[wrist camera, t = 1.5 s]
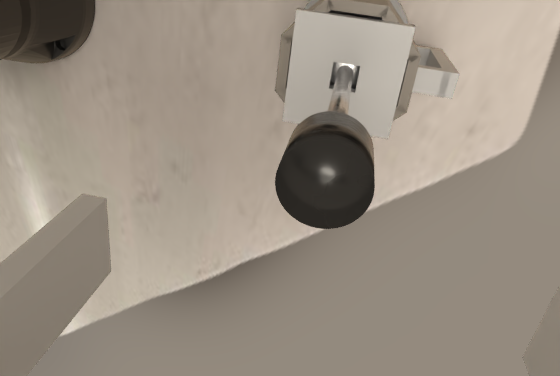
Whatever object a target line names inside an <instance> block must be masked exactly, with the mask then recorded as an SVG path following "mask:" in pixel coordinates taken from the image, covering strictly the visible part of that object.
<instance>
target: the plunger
mask: <svg viewBox="0 0 560 376" xmlns="http://www.w3.org/2000/svg"><path fill="white" fill-rule="evenodd" d="M359 69H360V66H357V65H350V64H344V63H337V62H334V63H333V69H332V75H331V81H330V85H333V86H334V88H333V92H332V96H331V100H330V104H329V108H328V111H326V112H320V113H316V114H313V115H311V116H309V117H307V118H306V119H304V120H303V121H302V122H301V123H300V124H299V125H298V126H297V127H296V128H295V130H294V131H293V133H292V135H291V138H290V140H289V143H288V145H287V147H286V150H285V152H284V155H283V157H282V160H281V162H280V164H279V167H278V170H277V173H276V178H275V186H276V192H277V196H278V198H279V201H280V202H281V204H282V206H283V207H284V209H285V210H286V211H287V212H288V213H289V214H290V215H291V216H292V217H293V218H295V219H296V220H298V221H299V222H301V223H303V224H306V225H308V226H311V227H315V228H322V229H331V228H338V227H342V226H345V225H348V224H350V223H352V222H354V221H355V220H356V219H358V218H359V217H360V216H362V215H363V213H364V212H365V211H366V210H367V208H368V207H369V205H370V203H371V201H372V198H373V195H374V148H373V143H372V139H371V137H370V134H369V133H368V131H367V129H366V128H365V127H364V126H363V125H362V124H361V123H360V122H359V121H358V120H356V119H355V118H353V117H351V116H349V115H348V110H349V102H350V94H351V88H352V89H356V84H357V79H358V74H359Z"/></svg>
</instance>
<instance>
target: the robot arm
mask: <svg viewBox="0 0 560 376" xmlns="http://www.w3.org/2000/svg"><path fill="white" fill-rule="evenodd" d="M93 18H94V0H0V60H1V59H6V60H13V61H20V62H26V63H47V62H51V61H55V60H57V59H60V58H63V57H66V56H68V55H70V54H72V53H73V52H75V51H76V50H77V49H78V48H79V47H80V46H81V45H82V44H83V43H84V41H85V40H86V38H87V36H88V34H89V32H90V30H91V27H92V23H93ZM110 272H111V259H110V244H109V230H108V215H107V200H106V198H103V197H97V196H92V195H87V194H81V195H80V196H79V197H78V198H77V199H76V200H74V201H73V202H72V203H71V204H70V205H69V206H67V207H66V208H65V209H64V210H63V211H61V212H60V213H59V214H58V215H57V216H56V217H54V218H53V219H52V220H51V221H50V222H49V223H47V224H46V225H45V226H44V227H43V228H41V229H40V230H39V231H38V232H37V233H36V234H34V235H33V236H32V237H31V238H30V239H29V240H27V241H26V242H25V243H24V244H23V245H22V246H20V247H19V248H18V249H17V250H16V251H14V252H13V253H12V254H11V255H10V256H9V257H7V258H6V259H5V260H4V261H3V262H2V263H0V376H27V375H28V374H29V373H30V371H31V370H32V369H33V368H34V366H35V365H36V364H37V363H38V361H39V360H40V359H41V358H42V356H43V355H44V354H45V353H46V351H47V350H48V349H49V348H50V346H51V345H52V344H53V343H54V341H55V340H56V339H57V338H58V337H59V335H60V334H61V333H62V332H63V330H64V329H65V328H66V327H67V325H68V324H69V323H70V322H71V320H72V319H73V318H74V317H75V315H76V314H77V313H78V312H79V310H80V309H81V308H82V307H83V305H84V304H85V303H86V302H87V300H88V299H89V298H90V297H91V295H92V294H93V293H94V292H95V290H96V289H97V288H98V287H99V286H100V284H101V283H102V282H103V281H104V279H105V278H106V277H107V276H108V274H109V273H110ZM522 358H523V360H524V363H525V366H526V368H527V371H528V374H529V376H560V286H559V287H558V289H557V290H556V293H555V295H554V296H553V298H552V300H551V302H550V304H549V306H548V308H547V310H546V312H545V314H544V316H543V318H542V320H541V322H540V324H539V326H538V328H537V330H536V332H535V334H534V336H533V338H532V339H531V341H530V343H529V346H528V347H527V349H526V351H525V354H524V355H523V357H522Z"/></svg>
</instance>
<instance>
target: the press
mask: <svg viewBox="0 0 560 376" xmlns="http://www.w3.org/2000/svg"><path fill="white" fill-rule="evenodd" d="M415 28H416V27H415V25H410V24H408V21H407V18H406V15H405V12H404V10H403V8H402V7H401V5H400V3H399V2H398V1H397V0H310V2H309V3H308V4H307V5H306V7H305V8H304V9H301V8H298V9H297V10H296V17H295V22H294V23H293V24H292V25H291V26H290V27H289V28H288V29H287V30H286V31H285V32H284V33H283V34H282V35H281V43H280V52H279V61H278V69H277V78H276V87H275V91H276V93H277V94H278V95H279V97H280V98H281V99H282V100H283V102H284V103H285V104H284V112H283V119H282V121H284V122H290V123H296V124H300V123H301V122H302V121H303V120H304V119H306V118H307V117H309V116H311V115H313V114H316V113H320V112H326V111H328V108H329V104H330V100H331V96H332V92H333V88H334V86H333V85H330V81H331V75H332V69H333V63H334V62H337V63H344V64H350V65H357V66H360V69H359V74H358V79H357V84H356V89H352V88H351V94H350V102H349V110H348V115H349V116H351V117H353V118H355V119H356V120H358V121H359V122H360V123H361V124H362V125H363V126H364V127H365V128H366V129H367V131H368V133H369V134H370V136H372V137H378V138H384V139H388V138H389V134H390V130H391V126H392V122H393V121H394V120H395V119H397V118H399V117H400V116H402V115H403V114H405V113H406V112H407V109H408V105H409V101H410V97H411V93H418V94H424V95H430V96H437V97H443V98H449V99H452V98H453V94H454V91H455V88H456V84H457V81H458V78H459V72H458V71H457V69H456V68H455V67H454V65H453V64H452V63H451V61H450V60H449V58H448V57H447V56H446V54H445V53H444V51H443V50H442V49H438V48H432V47H425V46H418V45H415V43H414V41H413V36H414V32H415Z"/></svg>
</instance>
